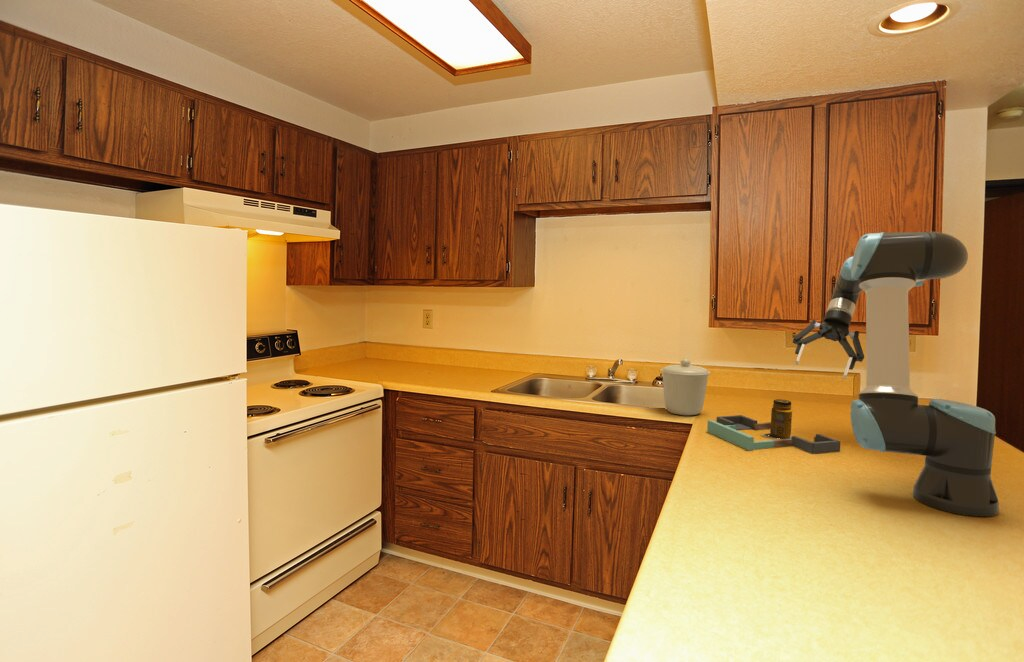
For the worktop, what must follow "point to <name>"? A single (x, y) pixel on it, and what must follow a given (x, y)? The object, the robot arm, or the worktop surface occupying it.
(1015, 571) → the worktop surface
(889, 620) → the worktop surface
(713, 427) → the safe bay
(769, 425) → the lane
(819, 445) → the trap pits
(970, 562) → the worktop surface
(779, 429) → the condiment
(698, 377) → the canister
